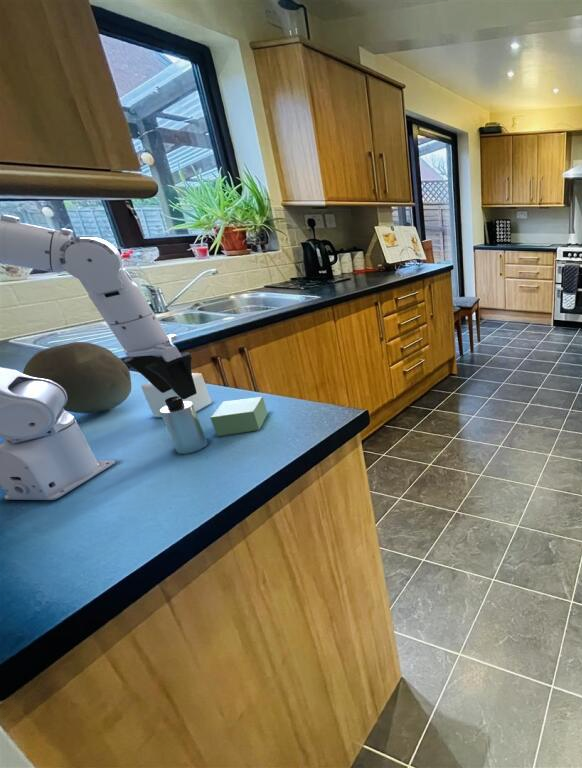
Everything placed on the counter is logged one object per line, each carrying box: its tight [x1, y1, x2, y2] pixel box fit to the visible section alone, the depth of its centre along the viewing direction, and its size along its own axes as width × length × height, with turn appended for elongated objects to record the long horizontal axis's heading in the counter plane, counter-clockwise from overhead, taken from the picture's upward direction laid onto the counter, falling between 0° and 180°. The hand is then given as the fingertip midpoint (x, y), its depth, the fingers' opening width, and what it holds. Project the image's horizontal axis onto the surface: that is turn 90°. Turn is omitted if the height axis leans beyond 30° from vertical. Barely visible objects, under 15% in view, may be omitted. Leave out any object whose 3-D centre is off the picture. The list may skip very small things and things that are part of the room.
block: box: [210, 396, 269, 437], centre depth 77 cm, size 7×7×4 cm
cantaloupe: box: [22, 341, 132, 414], centre depth 81 cm, size 14×14×15 cm
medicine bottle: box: [140, 372, 212, 418], centre depth 82 cm, size 7×7×12 cm
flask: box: [160, 396, 208, 455], centre depth 69 cm, size 4×4×10 cm
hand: (178, 393), depth 68 cm, fingers open, 7 cm apart
